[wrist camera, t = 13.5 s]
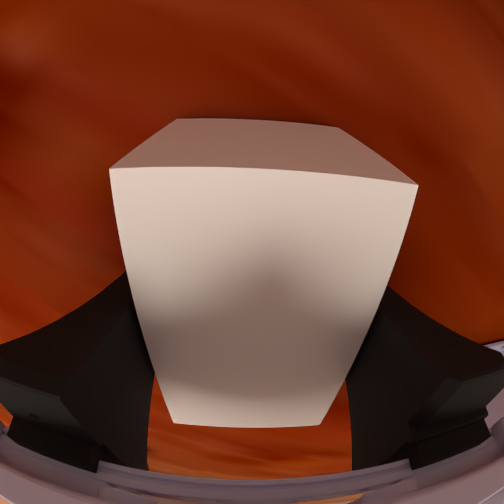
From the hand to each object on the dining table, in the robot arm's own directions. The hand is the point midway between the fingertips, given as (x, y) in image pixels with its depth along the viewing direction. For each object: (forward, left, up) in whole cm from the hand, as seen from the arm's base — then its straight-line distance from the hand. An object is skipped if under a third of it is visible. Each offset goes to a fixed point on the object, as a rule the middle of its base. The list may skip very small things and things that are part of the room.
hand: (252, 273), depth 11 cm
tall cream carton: (0, 0, -2) cm, 2 cm away
